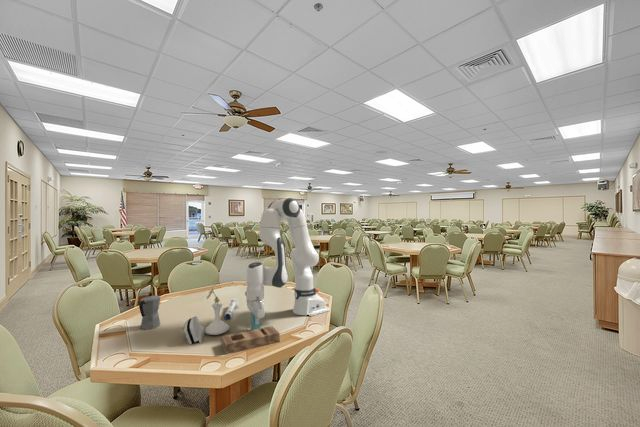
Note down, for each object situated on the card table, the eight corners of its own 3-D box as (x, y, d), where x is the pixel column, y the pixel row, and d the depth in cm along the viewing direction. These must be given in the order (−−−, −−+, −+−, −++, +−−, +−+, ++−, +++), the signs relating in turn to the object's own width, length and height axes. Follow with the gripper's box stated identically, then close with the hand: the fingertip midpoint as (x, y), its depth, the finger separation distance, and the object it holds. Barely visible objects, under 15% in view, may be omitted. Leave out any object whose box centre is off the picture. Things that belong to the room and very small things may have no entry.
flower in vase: (210, 328, 145) (210, 280, 146) (232, 328, 145) (232, 280, 145) (199, 338, 132) (199, 286, 133) (222, 338, 132) (222, 286, 132)
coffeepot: (149, 321, 155) (149, 289, 155) (166, 321, 155) (166, 289, 155) (130, 333, 139) (130, 297, 140) (149, 333, 139) (149, 297, 140)
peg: (257, 328, 144) (257, 308, 145) (259, 330, 141) (259, 310, 141) (251, 329, 143) (250, 310, 143) (252, 332, 139) (252, 312, 140)
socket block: (272, 334, 137) (272, 325, 137) (279, 341, 128) (279, 333, 128) (221, 344, 125) (221, 336, 125) (225, 354, 117) (225, 344, 117)
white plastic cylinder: (222, 313, 156) (230, 295, 181) (222, 325, 157) (231, 305, 181) (231, 313, 157) (239, 295, 181) (232, 324, 157) (239, 305, 182)
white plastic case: (200, 343, 127) (192, 323, 127) (190, 347, 126) (182, 328, 126) (205, 329, 144) (198, 311, 143) (196, 333, 142) (188, 315, 142)
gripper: (267, 299, 135) (267, 327, 134) (255, 289, 153) (256, 315, 152) (254, 301, 132) (254, 330, 131) (244, 291, 150) (244, 317, 149)
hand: (255, 322), depth 142 cm, fingers closed on peg, 4 cm apart
